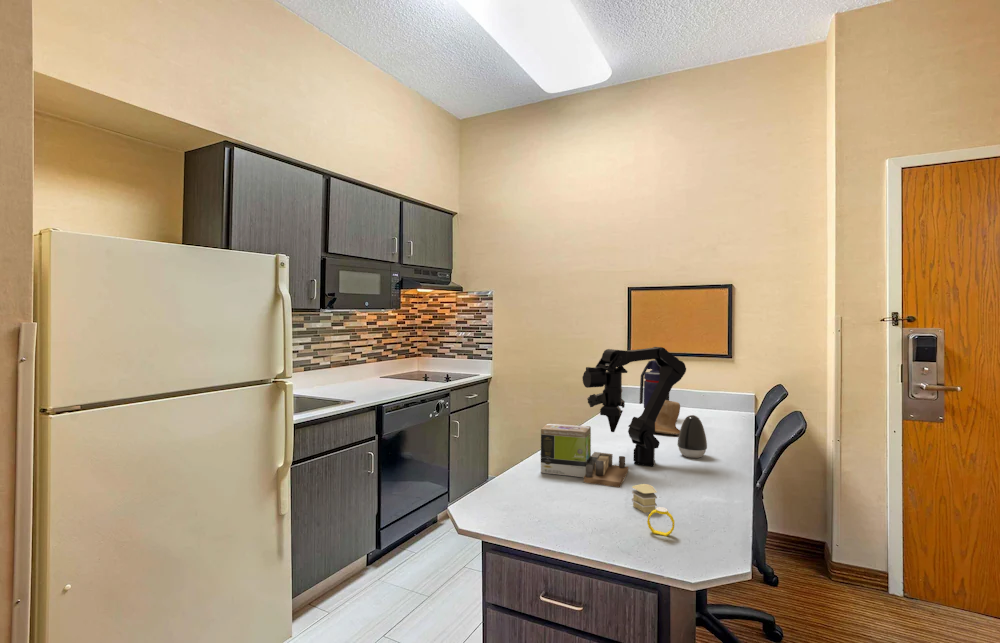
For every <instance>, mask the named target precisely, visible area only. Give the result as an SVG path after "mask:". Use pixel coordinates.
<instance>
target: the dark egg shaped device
mask: <svg viewBox="0 0 1000 643" xmlns="http://www.w3.org/2000/svg"><path fill="white" fill-rule="evenodd" d="M679 430H680V433H679V434H678V437H677V447H678V450H679V453H681V454H682V456H683V457H686V458H690V459H699V458H701V457H703V456H704V455H705V454H706V452H707V451H706V450H707V449H708V442H707V436H706V435H707V434H706V432H705V428H704V425H703V422H702V421H701V420H700V418H699V417H698V416H696V415H694V414H692V415H691V414H690V415H688V416H686V418H684V420H683V421H682V425H681V427H680V429H679Z"/></svg>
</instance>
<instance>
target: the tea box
mask: <svg viewBox="0 0 1000 643" xmlns="http://www.w3.org/2000/svg"><path fill="white" fill-rule="evenodd" d="M591 429H592V428H591V426H590V425H576V424H575V425H573V424H564V423H563V424H562V423H547V424H545V425H544V426H543V427H542V428H540V473H541V474H550V475H557V476H558V475H559V476H560V475H561V476H566V477H567V476H569V477H578V478H584V476H585V475H586V465H588V464H590V459H591V456H592V451H591V449H592V447H591V446H592V443H591V442H592V440H591V438H592V437H591V435H592V433H591Z"/></svg>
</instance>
